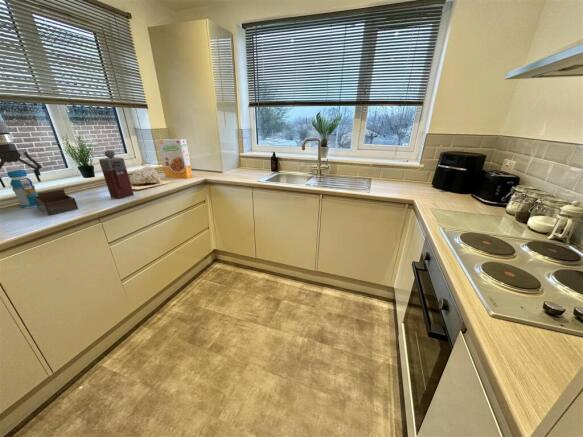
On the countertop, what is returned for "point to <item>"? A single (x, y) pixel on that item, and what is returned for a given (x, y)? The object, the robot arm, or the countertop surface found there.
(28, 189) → the beverage bottle
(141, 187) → the bread loaf on board
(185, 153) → the cereal box
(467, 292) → the countertop surface
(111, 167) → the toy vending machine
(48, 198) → the caddy
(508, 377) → the countertop surface
